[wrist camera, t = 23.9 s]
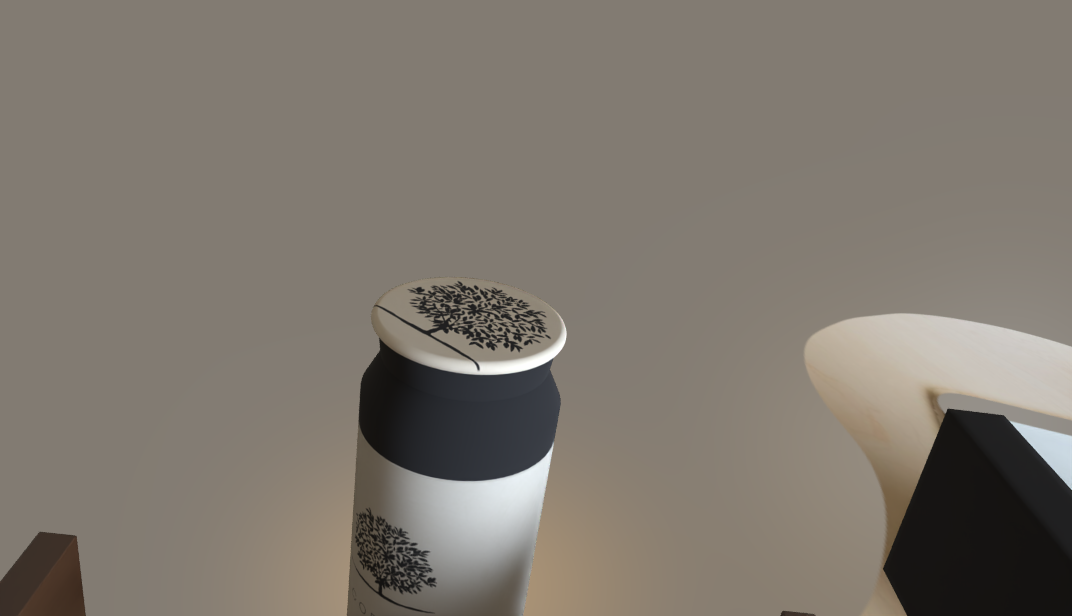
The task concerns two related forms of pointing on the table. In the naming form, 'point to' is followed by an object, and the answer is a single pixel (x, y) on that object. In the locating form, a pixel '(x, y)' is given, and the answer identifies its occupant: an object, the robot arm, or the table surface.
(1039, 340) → the table surface
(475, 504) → the travel mug
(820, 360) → the table surface
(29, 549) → the rack
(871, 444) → the table surface
